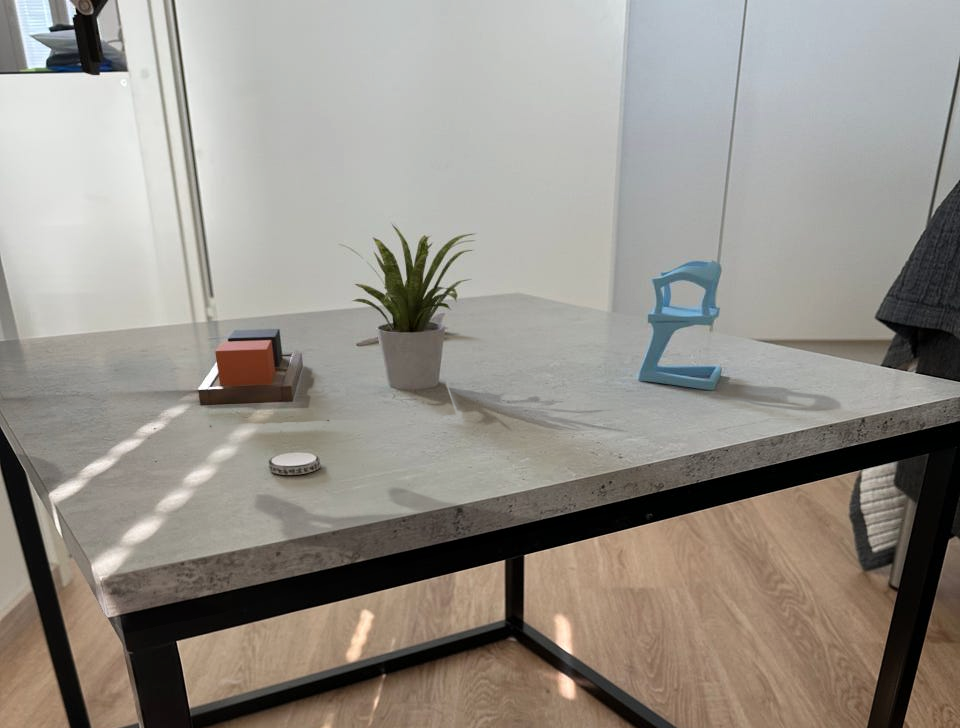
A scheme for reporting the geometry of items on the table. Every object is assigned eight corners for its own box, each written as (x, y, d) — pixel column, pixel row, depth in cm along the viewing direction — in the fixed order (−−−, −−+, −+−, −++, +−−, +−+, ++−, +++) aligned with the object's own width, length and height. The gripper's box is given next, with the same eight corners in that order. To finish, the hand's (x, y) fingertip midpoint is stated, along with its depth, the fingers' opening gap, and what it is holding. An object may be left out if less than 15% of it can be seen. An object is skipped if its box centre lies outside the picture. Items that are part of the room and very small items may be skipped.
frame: (200, 410, 90) (197, 389, 89) (223, 373, 105) (221, 355, 104) (293, 406, 91) (291, 385, 90) (303, 370, 106) (301, 352, 105)
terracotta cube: (221, 397, 92) (215, 351, 90) (228, 386, 96) (222, 341, 94) (272, 395, 92) (267, 349, 90) (276, 384, 97) (271, 339, 95)
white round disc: (321, 472, 72) (320, 464, 72) (269, 476, 71) (268, 468, 71) (318, 457, 75) (317, 450, 75) (268, 461, 75) (267, 453, 74)
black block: (233, 381, 99) (227, 338, 97) (239, 371, 103) (233, 330, 101) (280, 379, 100) (275, 336, 97) (284, 370, 104) (279, 328, 102)
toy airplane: (335, 346, 119) (333, 327, 118) (444, 323, 133) (443, 306, 132) (377, 352, 114) (376, 333, 113) (485, 328, 128) (484, 311, 127)
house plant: (516, 381, 100) (516, 215, 92) (452, 410, 89) (447, 225, 81) (404, 369, 106) (396, 212, 98) (332, 395, 95) (316, 221, 87)
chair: (646, 370, 103) (654, 254, 98) (722, 374, 101) (734, 256, 95) (632, 385, 97) (640, 263, 91) (713, 390, 94) (726, 265, 89)
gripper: (-173, -215, 65) (-97, 72, 73) (82, -210, 66) (128, 70, 74) (-123, -181, 71) (-59, 78, 79) (108, -177, 73) (147, 77, 81)
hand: (31, 74), depth 77 cm, fingers open, 9 cm apart
